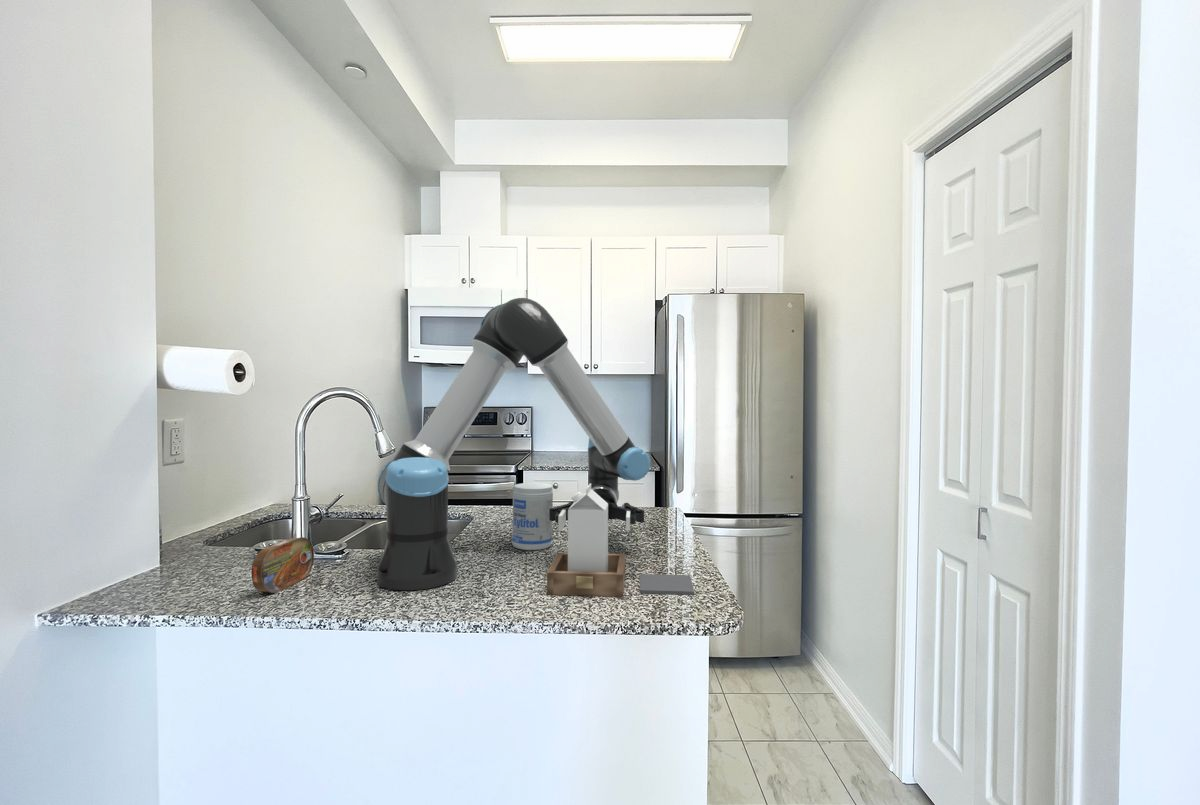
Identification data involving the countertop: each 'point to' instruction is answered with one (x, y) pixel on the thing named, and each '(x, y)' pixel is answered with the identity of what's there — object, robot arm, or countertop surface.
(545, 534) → the supplement tub
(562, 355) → the robot arm
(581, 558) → the milk carton
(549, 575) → the wooden square frame
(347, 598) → the countertop surface
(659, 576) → the rubber mat
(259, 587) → the tin
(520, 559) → the countertop surface
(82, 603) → the countertop surface
